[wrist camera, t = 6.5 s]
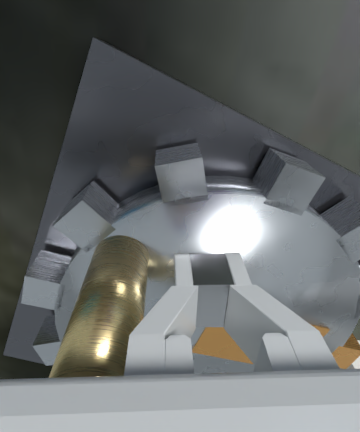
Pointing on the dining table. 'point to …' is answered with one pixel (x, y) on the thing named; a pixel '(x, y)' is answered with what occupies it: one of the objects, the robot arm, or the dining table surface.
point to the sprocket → (195, 243)
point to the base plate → (150, 153)
